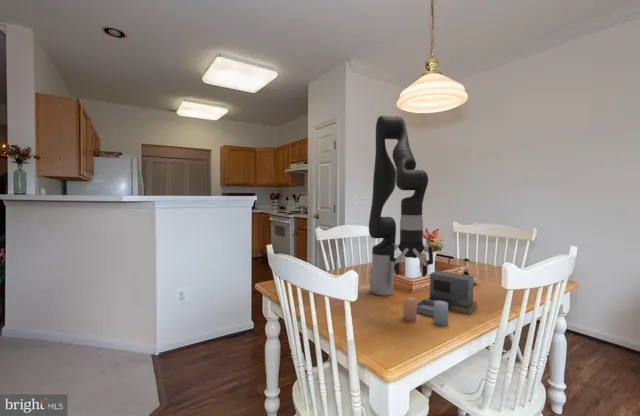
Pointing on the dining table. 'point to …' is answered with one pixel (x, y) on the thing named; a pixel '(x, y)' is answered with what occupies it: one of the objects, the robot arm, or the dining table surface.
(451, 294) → the unit
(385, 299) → the dining table surface
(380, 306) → the dining table surface
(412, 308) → the terracotta part
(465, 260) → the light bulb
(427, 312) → the tray
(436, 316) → the slate part
